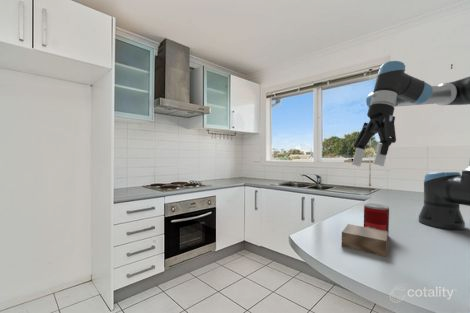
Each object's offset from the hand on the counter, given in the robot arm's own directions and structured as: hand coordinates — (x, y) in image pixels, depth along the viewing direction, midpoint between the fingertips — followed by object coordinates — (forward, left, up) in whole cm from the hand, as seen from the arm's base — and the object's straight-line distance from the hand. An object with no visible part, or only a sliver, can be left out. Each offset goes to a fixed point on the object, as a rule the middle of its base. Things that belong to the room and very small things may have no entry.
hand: (366, 165), depth 77 cm
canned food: (-3, -11, -27) cm, 29 cm away
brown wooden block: (-1, +4, -27) cm, 27 cm away
